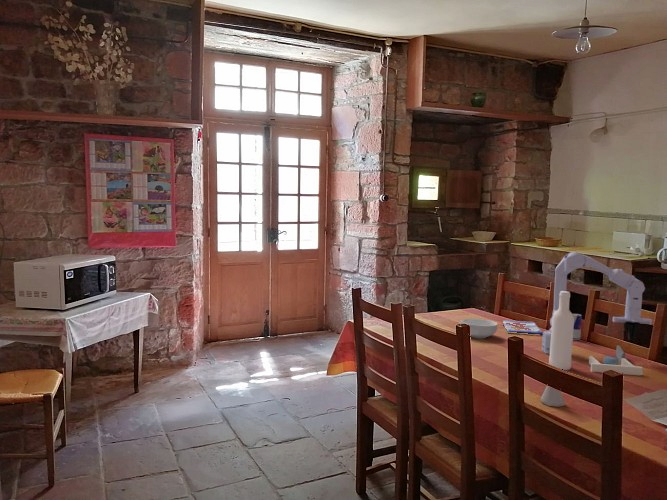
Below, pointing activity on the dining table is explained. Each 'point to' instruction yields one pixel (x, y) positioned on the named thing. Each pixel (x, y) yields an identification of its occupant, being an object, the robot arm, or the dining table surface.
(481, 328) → the cereal bowl
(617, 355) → the duct cover
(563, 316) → the bottle
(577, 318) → the energy drink
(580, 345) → the dining table surface
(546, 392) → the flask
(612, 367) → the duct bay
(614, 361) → the light blue block
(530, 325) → the blue white book
